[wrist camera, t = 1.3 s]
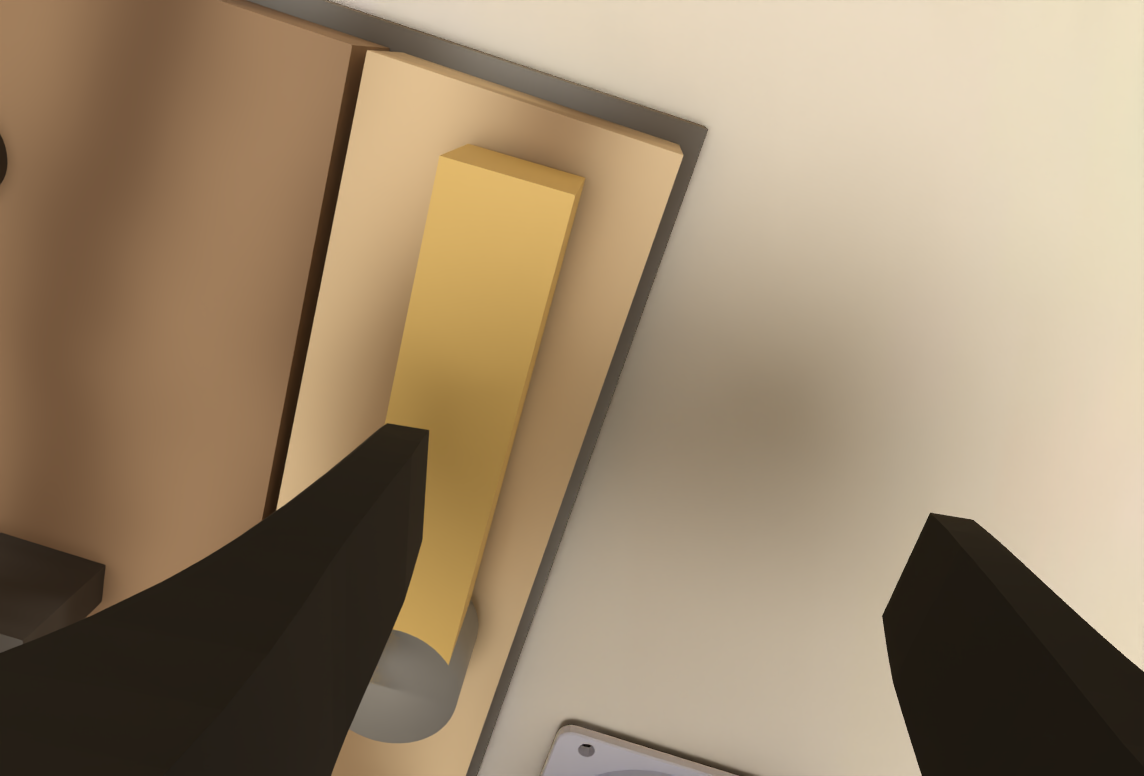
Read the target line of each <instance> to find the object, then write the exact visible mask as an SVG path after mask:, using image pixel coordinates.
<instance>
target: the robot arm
mask: <svg viewBox="0 0 1144 776" xmlns="http://www.w3.org/2000/svg"><path fill="white" fill-rule="evenodd" d="M428 444H429V430H426V429H420V428H414V427H408V426H402V425H396V424H390V423H387V424H385V425H384V426H382V427H381V428H379V429H378V430H377V431H376V432H374V433H373V434H372V435H371V436H370V437H369V438H367V439H366V440H365V441H364V442H363V443H361V444H360V445H359V446H358V447H357V448H356V449H354V450H353V451H352V452H351V453H350V454H348V455H347V456H346V457H345V458H344V459H342V460H341V461H340V462H339V463H338V464H336V465H335V466H334V467H333V468H331V469H330V470H329V471H328V472H327V473H325V474H324V475H323V476H321V477H320V478H319V479H318V480H316V481H315V482H314V483H312V484H311V485H310V486H309V487H307V488H306V489H305V490H303V491H302V492H301V493H299V494H298V495H297V496H296V497H294V498H293V499H292V500H290V501H289V502H288V503H286V504H285V505H284V506H282V507H281V508H279V509H278V510H276V511H275V512H274V513H272V514H271V515H269V516H268V517H266V518H265V519H263V520H262V521H261V522H259V523H258V524H256V525H255V526H253V527H252V528H250V529H249V530H248V531H246V532H245V533H243V534H242V535H240V536H239V537H237V538H236V539H234V540H233V541H231V542H229V543H228V544H226V545H225V546H223V547H222V548H220V549H218V550H217V551H215V552H214V553H212V554H210V555H209V556H207V557H205V558H204V559H202V560H200V561H198V562H197V563H195V564H193V565H191V566H189V567H188V568H186V569H184V570H182V571H181V572H179V573H177V574H175V575H173V576H172V577H170V578H168V579H166V580H164V581H162V582H160V583H158V584H156V585H154V586H152V587H150V588H148V589H146V590H144V591H142V592H139V593H137V594H135V595H133V596H131V597H129V598H127V599H125V600H123V601H121V602H119V603H117V604H115V605H112V606H110V607H108V608H106V609H104V610H102V611H100V612H98V613H96V614H94V615H92V616H89V617H87V618H85V619H83V620H80V621H78V622H76V623H73V624H71V625H69V626H66V627H64V628H61V629H59V630H57V631H54V632H52V633H49V634H47V635H45V636H42V637H40V638H37V639H35V640H32V641H30V642H27V643H24V644H22V645H19V646H17V647H14V648H11V649H9V650H6V651H4V652H1V653H0V776H331V775H332V772H333V769H334V766H335V764H336V761H337V758H338V756H339V753H340V751H341V748H342V745H343V743H344V740H345V738H346V735H347V733H348V731H349V728H350V726H351V724H352V721H353V719H354V717H355V715H356V712H357V710H358V708H359V705H360V703H361V701H362V698H363V696H364V694H365V692H366V689H367V687H368V685H369V682H370V680H371V678H372V676H373V673H374V671H375V669H376V666H377V664H378V662H379V659H380V657H381V655H382V653H383V650H384V648H385V646H386V643H387V641H388V639H389V636H390V634H391V632H392V629H393V627H394V625H395V622H396V620H397V618H398V615H399V613H400V611H401V608H402V606H403V603H404V601H405V598H406V594H407V591H408V588H409V585H410V581H411V578H412V575H413V571H414V568H415V564H416V561H417V557H418V554H419V550H420V547H421V543H422V540H423V524H424V508H425V492H426V476H427V460H428ZM882 617H883V624H884V631H885V638H886V645H887V652H888V657H889V663H890V668H891V674H892V679H893V684H894V687H895V690H896V694H897V697H898V701H899V704H900V707H901V711H902V714H903V717H904V720H905V724H906V727H907V730H908V733H909V737H910V740H911V743H912V746H913V749H914V752H915V755H916V759H917V762H918V765H919V768H920V771H921V774H922V776H1144V672H1143V671H1142V670H1141V669H1140V668H1138V667H1137V666H1136V665H1135V664H1134V663H1133V662H1131V661H1130V660H1129V659H1128V658H1127V657H1125V656H1124V655H1123V654H1122V653H1121V652H1120V651H1119V650H1117V649H1116V648H1115V647H1114V646H1113V645H1112V644H1111V643H1109V642H1108V641H1107V640H1106V639H1105V638H1104V637H1103V636H1101V635H1100V634H1099V633H1098V632H1097V631H1096V630H1095V629H1094V628H1093V627H1091V626H1090V625H1089V624H1088V623H1087V622H1086V621H1085V620H1084V619H1083V618H1081V617H1080V616H1079V615H1078V614H1077V613H1076V612H1075V611H1074V610H1073V609H1072V608H1071V607H1069V606H1068V605H1067V604H1066V603H1065V602H1064V601H1063V600H1062V599H1061V598H1060V597H1059V596H1058V595H1056V594H1055V593H1054V592H1053V591H1052V590H1051V589H1050V588H1049V587H1048V586H1047V585H1046V584H1045V583H1043V582H1042V581H1041V580H1040V579H1039V578H1038V577H1037V576H1036V575H1035V574H1034V573H1033V572H1032V571H1031V570H1030V569H1028V568H1027V567H1026V566H1025V565H1024V564H1023V563H1022V562H1021V561H1020V560H1019V559H1018V558H1017V557H1015V556H1014V555H1013V554H1012V553H1011V552H1010V551H1009V550H1008V549H1007V548H1006V547H1004V546H1003V545H1002V544H1001V543H1000V542H999V541H998V540H997V539H995V538H994V537H993V536H992V535H991V534H990V533H989V532H987V531H986V530H985V529H984V528H982V527H981V526H980V525H979V524H977V523H976V522H975V521H974V520H971V519H965V518H959V517H952V516H946V515H940V514H934V513H930V514H929V516H928V519H927V521H926V523H925V525H924V527H923V529H922V532H921V534H920V536H919V538H918V540H917V542H916V544H915V547H914V549H913V551H912V553H911V555H910V557H909V560H908V562H907V564H906V566H905V568H904V570H903V572H902V575H901V577H900V579H899V581H898V583H897V585H896V588H895V590H894V592H893V594H892V596H891V598H890V600H889V603H888V605H887V607H886V609H885V611H884V613H883V616H882ZM582 744H590V745H591V747H584V746H582ZM540 776H738V775H735V774H731V773H728V772H725V771H722V770H718V769H715V768H712V767H709V766H706V765H702V764H699V763H696V762H693V761H689V760H686V759H683V758H680V757H676V756H673V755H670V754H667V753H664V752H660V751H657V750H654V749H651V748H647V747H644V746H641V745H638V744H634V743H631V742H628V741H625V740H622V739H618V738H615V737H612V736H609V735H605V734H602V733H599V732H596V731H592V730H589V729H586V728H583V727H580V726H576V725H566V726H564V727H562V728H560V729H559V731H558V732H557V734H556V737H555V739H554V742H553V744H552V747H551V749H550V752H549V754H548V757H547V759H546V762H545V764H544V767H543V769H542V772H541V774H540Z"/></svg>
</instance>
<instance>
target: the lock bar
mask: <svg viewBox="0 0 1144 776" xmlns="http://www.w3.org/2000/svg"><path fill="white" fill-rule="evenodd" d="M584 181H585V178H584V177H581V176H577V175H574V174H571V173H567V172H564V171H560V170H557V169H553V168H550V167H547V166H543V165H540V164H536V163H533V162H529V161H526V160H523V159H519V158H516V157H512V156H509V155H505V154H502V153H499V152H495V151H492V150H488V149H485V148H481V147H478V146H475V145H471V144H466V145H464V146H461V147H459V148H457V149H454V150H452V151H449V152H447V153H444V154H442V155H440V156H439V160H438V165H437V170H436V175H435V180H434V185H433V190H432V195H431V200H430V204H429V209H428V214H427V219H426V224H425V229H424V234H423V239H422V244H421V249H420V254H419V258H418V263H417V268H416V273H415V278H414V283H413V288H412V293H411V298H410V303H409V308H408V312H407V317H406V322H405V327H404V332H403V337H402V342H401V347H400V352H399V357H398V362H397V366H396V371H395V376H394V381H393V386H392V391H391V396H390V401H389V406H388V411H387V416H386V420H385V424H387V423H390V424H396V425H402V426H408V427H414V428H420V429H426V430H429V444H428V460H427V476H426V492H425V508H424V524H423V540H422V543H421V547H420V550H419V554H418V557H417V561H416V564H415V568H414V571H413V575H412V578H411V581H410V585H409V588H408V591H407V594H406V598H405V601H404V603H403V606H402V608H401V611H400V613H399V615H398V618H397V620H396V622H395V625H394V627H393V629H392V632H391V634H390V636H389V639H388V641H387V643H386V646H385V648H384V650H383V653H382V655H381V657H380V659H379V662H378V664H377V666H376V669H375V671H374V673H373V676H372V678H371V680H370V682H369V685H368V687H367V689H366V692H365V694H364V696H363V698H362V701H361V703H360V705H359V708H358V710H357V712H356V715H355V717H354V719H353V721H352V724H351V726H350V728H349V729H350V730H351V731H353V732H355V733H357V734H359V735H361V736H363V737H366V738H369V739H372V740H375V741H380V742H385V743H410V742H415V741H419V740H422V739H425V738H428V737H430V736H432V735H434V734H435V733H437V732H438V731H440V730H441V729H442V728H443V727H444V726H445V725H446V724H447V723H448V721H449V720H450V719H451V717H452V715H453V713H454V711H455V708H456V705H457V702H458V698H459V695H460V692H461V688H462V685H463V682H464V678H465V675H466V672H467V669H468V665H469V662H470V659H471V655H472V652H473V649H474V645H475V642H476V639H477V634H478V616H477V613H476V609H475V607H474V605H473V602H472V601H471V596H472V592H473V589H474V585H475V581H476V578H477V574H478V570H479V567H480V563H481V559H482V556H483V552H484V548H485V545H486V541H487V537H488V534H489V530H490V526H491V523H492V519H493V515H494V512H495V508H496V504H497V501H498V497H499V493H500V490H501V486H502V482H503V479H504V475H505V471H506V468H507V464H508V460H509V457H510V453H511V449H512V446H513V442H514V438H515V435H516V431H517V427H518V424H519V420H520V416H521V413H522V409H523V405H524V402H525V398H526V394H527V391H528V387H529V383H530V380H531V376H532V372H533V369H534V365H535V361H536V358H537V354H538V350H539V347H540V343H541V339H542V336H543V332H544V328H545V325H546V321H547V317H548V314H549V310H550V306H551V303H552V299H553V295H554V292H555V288H556V284H557V280H558V277H559V273H560V269H561V266H562V262H563V258H564V255H565V251H566V247H567V244H568V240H569V236H570V233H571V229H572V225H573V222H574V218H575V214H576V211H577V207H578V203H579V200H580V196H581V192H582V189H583V185H584Z"/></svg>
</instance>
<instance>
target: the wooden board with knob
mask: <svg viewBox="0 0 1144 776" xmlns="http://www.w3.org/2000/svg"><path fill="white" fill-rule="evenodd" d="M707 131H708V129H707V128H706V127H705V126H702V125H699V124H696V123H693V122H690V121H687V120H684V119H681V118H678V117H675V116H672V115H669V114H666V113H663V112H660V111H657V110H654V109H651V108H648V107H645V106H642V105H639V104H636V103H633V102H630V101H627V100H624V99H621V98H618V97H615V96H612V95H609V94H606V93H603V92H600V91H597V90H594V89H591V88H588V87H585V86H583V85H580V84H577V83H574V82H571V81H568V80H565V79H562V78H559V77H556V76H553V75H550V74H547V73H544V72H541V71H538V70H535V69H532V68H529V67H526V66H523V65H520V64H517V63H514V62H511V61H508V60H505V59H502V58H499V57H496V56H493V55H490V54H487V53H484V52H481V51H478V50H475V49H472V48H469V47H466V46H463V45H460V44H457V43H454V42H451V41H448V40H445V39H442V38H439V37H436V36H433V35H430V34H427V33H424V32H421V31H418V30H415V29H412V28H409V27H406V26H403V25H400V24H397V23H394V22H391V21H388V20H385V19H382V18H379V17H376V16H373V15H370V14H367V13H364V12H361V11H358V10H355V9H352V8H349V7H346V6H343V5H340V4H337V3H334V2H331V1H328V0H0V653H1V652H4V651H6V650H9V649H11V648H14V647H17V646H19V645H22V644H24V643H27V642H30V641H32V640H35V639H37V638H40V637H42V636H45V635H47V634H49V633H52V632H54V631H57V630H59V629H61V628H64V627H66V626H69V625H71V624H73V623H76V622H78V621H80V620H83V619H85V618H87V617H89V616H92V615H94V614H96V613H98V612H100V611H102V610H104V609H106V608H108V607H110V606H112V605H115V604H117V603H119V602H121V601H123V600H125V599H127V598H129V597H131V596H133V595H135V594H137V593H139V592H142V591H144V590H146V589H148V588H150V587H152V586H154V585H156V584H158V583H160V582H162V581H164V580H166V579H168V578H170V577H172V576H173V575H175V574H177V573H179V572H181V571H182V570H184V569H186V568H188V567H189V566H191V565H193V564H195V563H197V562H198V561H200V560H202V559H204V558H205V557H207V556H209V555H210V554H212V553H214V552H215V551H217V550H218V549H220V548H222V547H223V546H225V545H226V544H228V543H229V542H231V541H233V540H234V539H236V538H237V537H239V536H240V535H242V534H243V533H245V532H246V531H248V530H249V529H250V528H252V527H253V526H255V525H256V524H258V523H259V522H261V521H262V520H263V519H265V518H266V517H268V516H269V515H271V514H272V513H274V512H275V511H276V510H278V509H279V508H281V507H282V506H284V505H285V504H286V503H288V502H289V501H290V500H292V499H293V498H294V497H296V496H297V495H298V494H299V493H301V492H302V491H303V490H305V489H306V488H307V487H309V486H310V485H311V484H312V483H314V482H315V481H316V480H318V479H319V478H320V477H321V476H323V475H324V474H325V473H327V472H328V471H329V470H330V469H331V468H333V467H334V466H335V465H336V464H338V463H339V462H340V461H341V460H342V459H344V458H345V457H346V456H347V455H348V454H350V453H351V452H352V451H353V450H354V449H356V448H357V447H358V446H359V445H360V444H361V443H363V442H364V441H365V440H366V439H367V438H369V437H370V436H371V435H372V434H373V433H374V432H376V431H377V430H378V429H379V428H381V427H382V426H384V425H385V420H386V416H387V411H388V406H389V401H390V396H391V391H392V386H393V381H394V376H395V371H396V366H397V362H398V357H399V352H400V347H401V342H402V337H403V332H404V327H405V322H406V317H407V312H408V308H409V303H410V298H411V293H412V288H413V283H414V278H415V273H416V268H417V263H418V258H419V254H420V249H421V244H422V239H423V234H424V229H425V224H426V219H427V214H428V209H429V204H430V200H431V195H432V190H433V185H434V180H435V175H436V170H437V165H438V160H439V156H440V155H442V154H444V153H447V152H449V151H452V150H454V149H457V148H459V147H461V146H464V145H466V144H471V145H475V146H478V147H481V148H485V149H488V150H492V151H495V152H499V153H502V154H505V155H509V156H512V157H516V158H519V159H523V160H526V161H529V162H533V163H536V164H540V165H543V166H547V167H550V168H553V169H557V170H560V171H564V172H567V173H571V174H574V175H577V176H581V177H584V178H585V181H584V185H583V189H582V192H581V196H580V200H579V203H578V207H577V211H576V214H575V218H574V222H573V225H572V229H571V233H570V236H569V240H568V244H567V247H566V251H565V255H564V258H563V262H562V266H561V269H560V273H559V277H558V280H557V284H556V288H555V292H554V295H553V299H552V303H551V306H550V310H549V314H548V317H547V321H546V325H545V328H544V332H543V336H542V339H541V343H540V347H539V350H538V354H537V358H536V361H535V365H534V369H533V372H532V376H531V380H530V383H529V387H528V391H527V394H526V398H525V402H524V405H523V409H522V413H521V416H520V420H519V424H518V427H517V431H516V435H515V438H514V442H513V446H512V449H511V453H510V457H509V460H508V464H507V468H506V471H505V475H504V479H503V482H502V486H501V490H500V493H499V497H498V501H497V504H496V508H495V512H494V515H493V519H492V523H491V526H490V530H489V534H488V537H487V541H486V545H485V548H484V552H483V556H482V559H481V563H480V567H479V570H478V574H477V578H476V581H475V585H474V589H473V592H472V596H471V601H472V602H473V605H474V607H475V609H476V613H477V616H478V634H477V639H476V642H475V645H474V649H473V652H472V655H471V659H470V662H469V665H468V669H467V672H466V675H465V678H464V682H463V685H462V688H461V692H460V695H459V698H458V702H457V705H456V708H455V711H454V713H453V715H452V717H451V719H450V720H449V721H448V723H447V724H446V725H445V726H444V727H443V728H442V729H441V730H440V731H438V732H437V733H435V734H434V735H432V736H430V737H428V738H425V739H422V740H419V741H415V742H410V743H385V742H380V741H375V740H372V739H369V738H366V737H363V736H361V735H359V734H357V733H355V732H353V731H351V730H350V729H349V731H348V733H347V735H346V738H345V740H344V743H343V745H342V748H341V751H340V753H339V756H338V758H337V761H336V764H335V766H334V769H333V772H332V775H331V776H477V773H478V771H479V768H480V765H481V762H482V759H483V757H484V754H485V751H486V748H487V745H488V743H489V740H490V737H491V734H492V732H493V729H494V726H495V723H496V720H497V718H498V715H499V712H500V709H501V706H502V704H503V701H504V698H505V695H506V692H507V690H508V687H509V684H510V681H511V678H512V676H513V673H514V670H515V667H516V664H517V662H518V659H519V656H520V653H521V651H522V648H523V645H524V642H525V639H526V637H527V634H528V631H529V628H530V625H531V623H532V620H533V617H534V614H535V611H536V609H537V606H538V603H539V600H540V597H541V595H542V592H543V589H544V586H545V583H546V581H547V578H548V575H549V572H550V570H551V567H552V564H553V561H554V558H555V556H556V553H557V550H558V547H559V544H560V542H561V539H562V536H563V533H564V530H565V528H566V525H567V522H568V519H569V516H570V514H571V511H572V508H573V505H574V502H575V500H576V497H577V494H578V491H579V489H580V486H581V483H582V480H583V477H584V475H585V472H586V469H587V466H588V463H589V461H590V458H591V455H592V452H593V449H594V447H595V444H596V441H597V438H598V435H599V433H600V430H601V427H602V424H603V422H604V419H605V416H606V413H607V410H608V408H609V405H610V402H611V399H612V396H613V394H614V391H615V388H616V385H617V382H618V380H619V377H620V374H621V371H622V368H623V366H624V363H625V360H626V357H627V354H628V352H629V349H630V346H631V343H632V341H633V338H634V335H635V332H636V329H637V327H638V324H639V321H640V318H641V315H642V313H643V310H644V307H645V304H646V301H647V299H648V296H649V293H650V290H651V287H652V285H653V282H654V279H655V276H656V273H657V271H658V268H659V265H660V262H661V260H662V257H663V254H664V251H665V248H666V246H667V243H668V240H669V237H670V234H671V232H672V229H673V226H674V223H675V220H676V218H677V215H678V212H679V209H680V206H681V204H682V201H683V198H684V195H685V192H686V190H687V187H688V184H689V181H690V179H691V176H692V173H693V170H694V167H695V165H696V162H697V159H698V156H699V153H700V151H701V148H702V145H703V142H704V139H705V137H706V134H707Z"/></svg>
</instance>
